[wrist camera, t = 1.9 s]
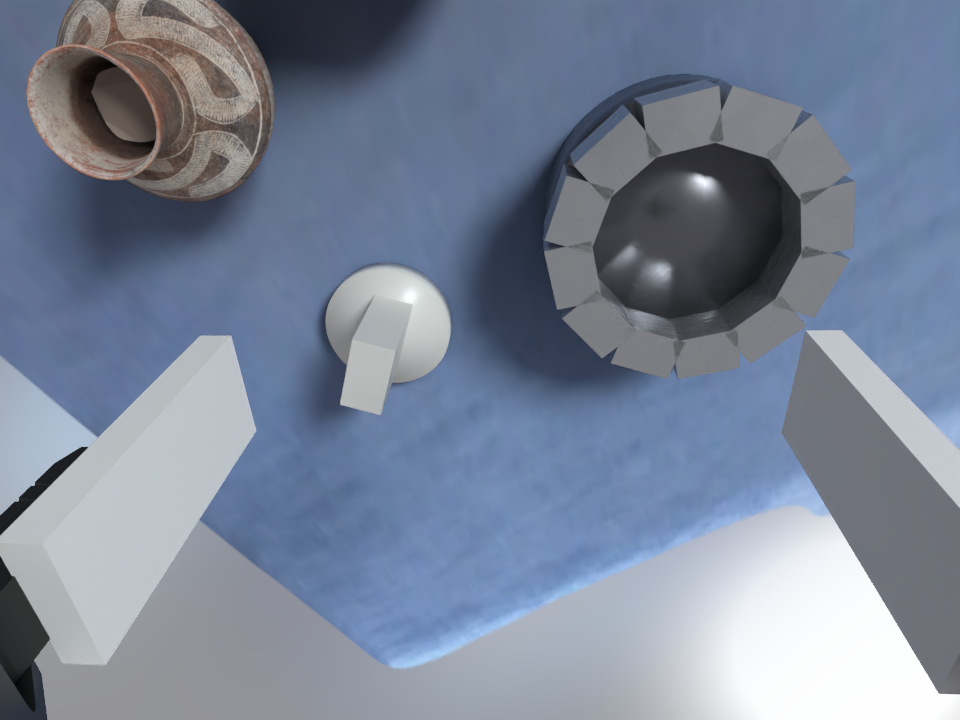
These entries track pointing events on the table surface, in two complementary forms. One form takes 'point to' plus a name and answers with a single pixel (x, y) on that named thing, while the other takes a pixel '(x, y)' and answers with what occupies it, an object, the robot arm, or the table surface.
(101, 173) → the pottery
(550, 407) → the table surface
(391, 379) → the cap
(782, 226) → the toothed ring drum
